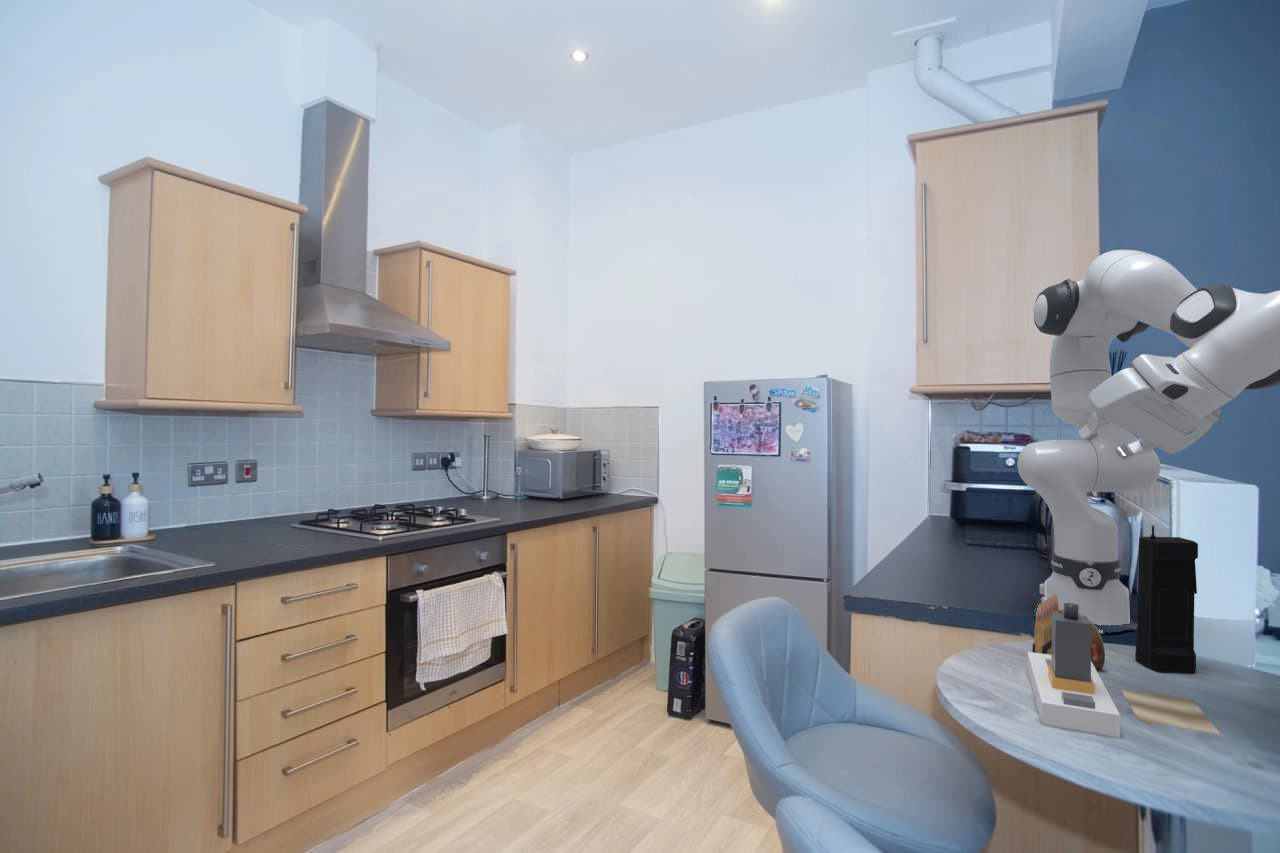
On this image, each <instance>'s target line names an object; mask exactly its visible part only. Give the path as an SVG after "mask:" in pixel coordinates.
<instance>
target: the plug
mask: <svg viewBox="0 0 1280 853" xmlns="http://www.w3.org/2000/svg"><path fill="white" fill-rule="evenodd" d="M1048 677H1049V680H1050V683H1051V686H1052V688H1056V689H1062V690H1069V691H1075V692H1082V693H1088V694H1095V684H1094V682H1093V680H1092V678H1091V623H1090V621H1089V620H1088V618H1087V616H1082V615H1078V605H1077V604H1073V603H1064V613H1055V612H1052V655H1051V666H1048Z"/></svg>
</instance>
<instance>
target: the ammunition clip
mask: <svg viewBox="0 0 1280 853" xmlns="http://www.w3.org/2000/svg"><path fill="white" fill-rule="evenodd" d="M1037 605H1038V604H1037ZM1052 612H1055V613H1059V608H1058V600H1057V596H1056V595H1055V594H1054V595H1053V596H1051V597H1050V598H1048V599H1047V600H1045V601H1044V602H1042V603H1041V604H1039V605H1038V608H1037V612H1036V618H1035V624H1034V625H1035V626H1034V631H1033V632H1034V633H1033V635H1034V636H1033V639H1034V640H1033V641H1034V642H1032V651H1031V652H1034V653H1041V654H1049V655H1052Z"/></svg>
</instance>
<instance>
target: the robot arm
mask: <svg viewBox="0 0 1280 853" xmlns="http://www.w3.org/2000/svg"><path fill="white" fill-rule="evenodd" d="M1034 302H1035V303H1034V306H1033V321H1034V324H1035V326H1036V328H1037V329H1038V331H1039V332H1040V333H1042V334H1045V335H1049V336H1054V338H1053V340H1052V344H1051V349H1050V350H1051V351H1050V358H1049V359H1050V360H1049V381H1050V382H1049V384H1050V399H1051V409H1052V412H1053V414H1054V415H1055V416H1056V417H1057V418H1058V419H1059V420H1060V421H1063V422H1064V423H1066V424H1069V425H1072V426H1073V427H1074V428H1076V429H1077V430H1078V435H1079V436H1080V437H1081V438H1082V439H1047V440H1041V441H1036V442H1030V443H1027V444H1026V446H1024V447H1023V448H1022V450H1021V451H1020V453H1019V455H1018V458H1017V465H1016V467H1017V471H1018V475H1019V477H1020V479H1021V480H1022V481H1023V482H1024V483H1025V484H1026V485H1027V486H1028V487H1029V488H1031V489H1032V490H1034V491H1035V492H1036V493H1038V495H1039V496H1040V497H1041V498H1042V500H1044V502H1045V504H1046V505H1047V507H1048V509H1049V511H1050V514H1051V518H1052V521H1053V530H1054V532H1053V534H1054V535H1053V536H1054V552H1053V554H1052V556H1051V557H1052V559H1051V570H1052V573H1051V575H1050V576H1049V577H1048V578H1046V580H1045V581H1044V582H1043V583H1040V584H1039V594H1040V595H1044V596H1042V597H1041V598H1040V600H1041V602H1044V601H1045V600H1047V599H1048V598H1050V597H1051V596H1053V595H1054V594H1055V595H1056V596H1057V600H1058V608H1059V610H1064V603H1073V604H1077V605H1078V613H1079V614H1080V615H1082V616H1087V618H1088V620H1089V621H1091V622H1092V623H1093V624H1097V625H1100V626H1101V625H1109V626H1110V625H1122V624H1129V623H1130V619H1131V616H1130V615H1131V613H1130V610H1131V609H1130V591H1129V588H1128V587H1127V586H1126V585H1124V584H1123V583H1122V582H1121V581H1120V578H1121V570H1122V568H1121V567H1122V566H1121V561H1120V560H1119V558H1118V553H1119V552H1118V550H1119V549H1118V547H1119V545H1118V544H1119V541H1118V540H1119V538H1118V537H1119V534H1118V533H1119V527H1118V524H1117V523H1116V521H1115V520H1114V518H1113V517H1112V516H1111V515H1109V514H1107V513H1106V512H1103V511H1102V510H1100V509H1099V508H1095V507H1094V506H1092V505H1091V504H1090V503H1089V500H1088V494H1087V493H1088V492H1092V493H1095V492H1097V493H1127V492H1135V491H1140V490H1147V489H1149V488H1151V487H1152V486H1153V485H1154V484H1155V483H1156V481H1157V480H1158V478H1159V476H1160V473H1161V461H1160V458H1159V456H1158V454H1157V453H1156V451H1155V450H1154V449H1155V448H1158V449H1159V450H1162V451H1163V452H1166V453H1168V454H1175V453H1179V452H1181V451H1184V449H1187V447H1189V446H1191V445H1192V444H1194V443H1195V442H1196V441H1197V440H1199V439H1200V438H1201V437H1203V436H1204V435H1205V434H1206V433H1207V432H1208V431H1210V429H1211V428H1212V427H1213V424H1215V423H1216V422H1217V421H1218V420H1219V419H1220V418H1219V417H1220V414H1221V413H1222V412H1221V410H1222V409H1220V408H1221V407H1223V406H1224V405H1226V404H1227V403H1228V402H1230V401H1231V400H1233V399H1235V398H1236V397H1238V396H1239V395H1240V394H1241V392H1242V391H1243V390H1261V389H1268V388H1269V389H1270V388H1273V387H1278V386H1280V290H1275V291H1272V292H1267V293H1257V292H1251V291H1246V290H1242V289H1239V288H1235V287H1233V286H1231V285H1229V284H1214V285H1213V284H1212V285H1210V286H1206V287H1205V286H1204V287H1202V288H1199V289H1197V288H1196V287H1195V286H1194V285H1193V283H1191V282H1190V281H1189V279H1187V278H1186V277H1185V276H1184V275H1183V274H1182V273H1181V272H1180V271H1179V270H1178V269H1177V268H1176V267H1174V266H1173V265H1172V264H1171V263H1170V262H1168V261H1167V260H1164V259H1163V258H1162V257H1159V256H1157V255H1154V254H1152V253H1151V254H1150V253H1148V252H1146V251H1145V252H1144V251H1140V250H1134V249H1115V250H1109V251H1107V252H1105V253H1102V254H1101V255H1099V256H1097V257H1096V258H1095V259H1093V261H1092V262H1091V264H1090V265H1089V267H1088V268H1087V271H1086V275H1085V277H1084V279H1081V280H1078V281H1075V280H1071V279H1070V278H1067V279H1065V280H1063V281H1061V282H1060V283H1056V284H1054V285H1051V286H1048V287H1046V288H1045V289H1043V290H1042V291H1041V292H1039V294H1038V295H1037V297H1036V298H1035V301H1034ZM1150 327H1154V328H1156V329H1158V330H1161V331H1164V332H1165V333H1168V334H1171V335H1172V336H1173V335H1174V336H1175V337H1176V338H1177V339H1178V341H1180V342H1181V343H1183V345H1185V346H1186V347H1187V348H1189V349H1187V350H1186V351H1183V352H1182V353H1180V354H1179V355H1177V356H1176V357H1174V356H1162V355H1161V356H1160V355H1153V354H1147V353H1143V354H1140V355H1138V356H1137V357H1136V358H1134V360H1132V362H1131V364H1132V366H1133V367H1126V368H1124V369H1121V370H1119V371H1117V372H1116V373H1114V374H1113V375H1112V367H1111V360H1110V354H1109V353H1110V352H1109V351H1110V345H1111V344H1112V342H1113V341H1114V339H1115V338H1117V339H1118V340H1119V341H1120V342H1122V343H1126V342H1128V341H1130V339H1131V338H1132V337H1133V336H1136V335H1138V334H1140V333H1142V332H1144V331H1146V330H1147V329H1148V328H1150ZM1098 631H1099V633H1100V634H1104V633H1103V630H1100V629H1099V630H1098Z"/></svg>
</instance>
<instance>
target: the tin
mask: <svg viewBox="0 0 1280 853" xmlns="http://www.w3.org/2000/svg"><path fill="white" fill-rule="evenodd" d="M1059 613H1064V610H1059ZM1078 615H1080V614H1079V613H1078ZM1090 623H1091V661H1092V663H1093V665H1094V667H1095V669H1096V670H1103V669H1104V666H1105V664H1106V653H1105V652H1106V651H1105V646H1104V642H1103V638H1102V635H1101V633H1099V631H1098V629H1097V627H1096V626H1095V625H1094V624H1093V623H1092V622H1091V621H1090Z"/></svg>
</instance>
